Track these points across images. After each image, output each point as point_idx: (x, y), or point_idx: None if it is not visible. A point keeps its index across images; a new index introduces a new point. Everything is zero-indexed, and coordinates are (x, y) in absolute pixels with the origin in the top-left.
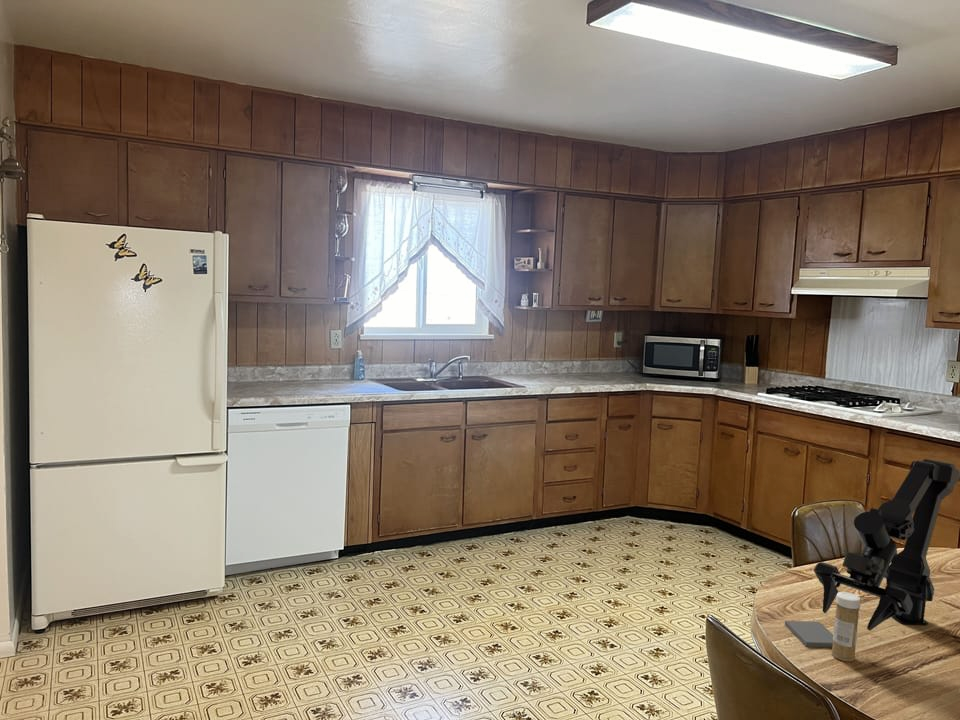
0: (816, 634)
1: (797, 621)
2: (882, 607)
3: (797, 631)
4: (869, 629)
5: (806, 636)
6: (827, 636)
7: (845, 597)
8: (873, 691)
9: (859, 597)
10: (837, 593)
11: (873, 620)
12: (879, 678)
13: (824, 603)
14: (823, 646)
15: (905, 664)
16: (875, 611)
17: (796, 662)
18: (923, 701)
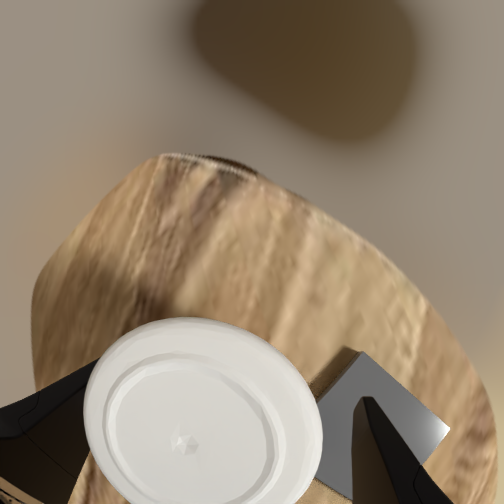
0: None
1: (424, 458)
2: (7, 418)
3: (407, 399)
4: None
5: (377, 392)
6: (326, 451)
7: (194, 357)
8: (139, 239)
9: (101, 468)
10: (318, 432)
11: (76, 375)
12: (136, 321)
13: (385, 427)
14: (318, 397)
15: None
16: (48, 409)
17: (332, 231)
18: (61, 281)
